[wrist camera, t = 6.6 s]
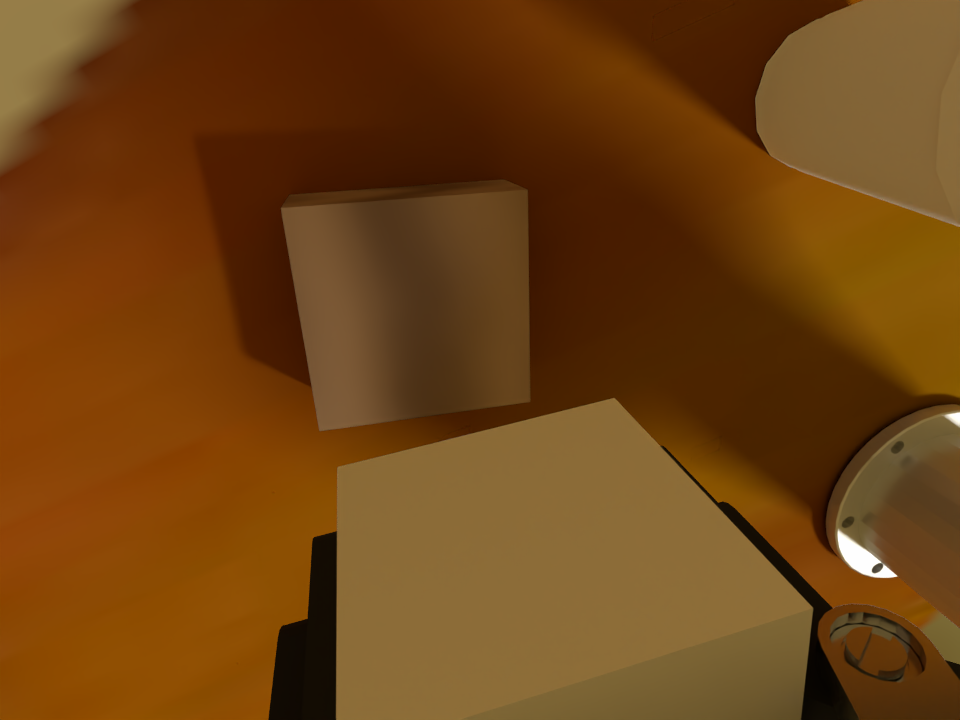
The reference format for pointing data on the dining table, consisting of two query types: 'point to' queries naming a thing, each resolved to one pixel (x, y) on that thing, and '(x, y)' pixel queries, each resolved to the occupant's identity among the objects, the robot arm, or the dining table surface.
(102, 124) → the dining table surface
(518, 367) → the walnut base
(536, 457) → the cream cube
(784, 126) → the foam cup
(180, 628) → the dining table surface
